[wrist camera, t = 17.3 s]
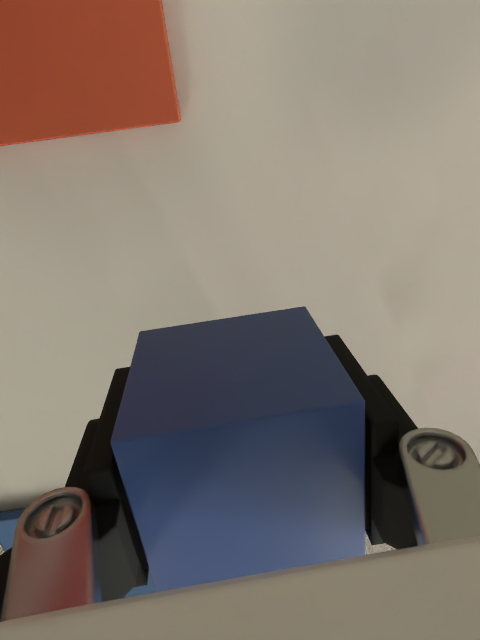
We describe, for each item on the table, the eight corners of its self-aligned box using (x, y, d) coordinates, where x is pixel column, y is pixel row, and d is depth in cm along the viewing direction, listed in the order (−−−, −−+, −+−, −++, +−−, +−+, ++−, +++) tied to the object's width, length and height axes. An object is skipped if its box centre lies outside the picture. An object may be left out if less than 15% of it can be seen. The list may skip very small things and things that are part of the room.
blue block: (170, 461, 13) (160, 608, 9) (139, 330, 11) (109, 442, 7) (313, 437, 14) (366, 571, 9) (305, 305, 12) (366, 400, 8)
